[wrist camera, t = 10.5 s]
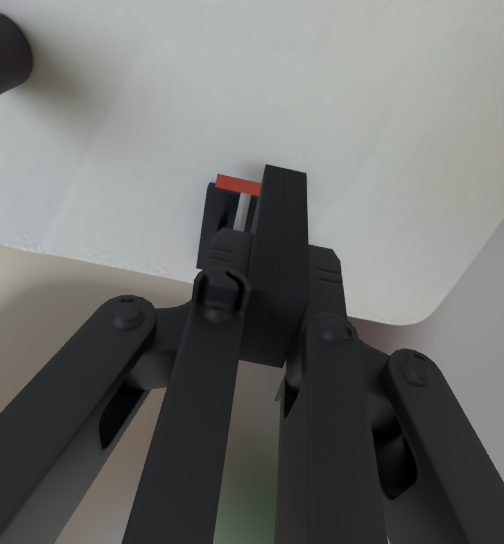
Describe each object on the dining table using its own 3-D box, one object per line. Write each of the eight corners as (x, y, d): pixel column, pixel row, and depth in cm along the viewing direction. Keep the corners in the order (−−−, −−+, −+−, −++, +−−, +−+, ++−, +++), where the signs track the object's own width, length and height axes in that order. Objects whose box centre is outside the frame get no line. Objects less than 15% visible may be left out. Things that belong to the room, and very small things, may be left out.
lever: (218, 175, 42) (217, 173, 40) (277, 188, 42) (280, 187, 40) (195, 293, 44) (192, 297, 41) (252, 304, 44) (253, 309, 42)
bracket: (209, 182, 47) (186, 244, 37) (282, 198, 47) (280, 263, 37) (197, 262, 55) (176, 331, 45) (261, 275, 55) (254, 346, 45)
